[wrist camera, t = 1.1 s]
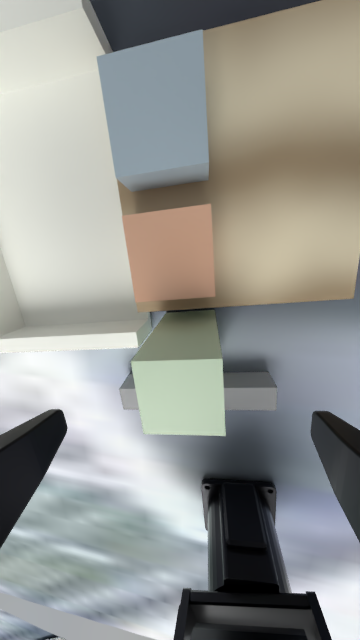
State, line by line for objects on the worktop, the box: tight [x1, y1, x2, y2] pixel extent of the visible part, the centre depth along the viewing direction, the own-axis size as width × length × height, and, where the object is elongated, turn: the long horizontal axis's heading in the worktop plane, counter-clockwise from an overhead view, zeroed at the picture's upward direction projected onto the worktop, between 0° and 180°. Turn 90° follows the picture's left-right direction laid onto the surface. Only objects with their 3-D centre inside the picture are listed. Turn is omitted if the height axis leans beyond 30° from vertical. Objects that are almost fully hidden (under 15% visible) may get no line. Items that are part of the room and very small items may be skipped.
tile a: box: [122, 204, 215, 302], centre depth 11 cm, size 4×4×2 cm
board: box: [117, 0, 360, 312], centre depth 11 cm, size 12×12×2 cm
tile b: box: [97, 29, 209, 192], centre depth 9 cm, size 4×4×2 cm
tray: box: [0, 0, 152, 353], centre depth 13 cm, size 16×11×3 cm
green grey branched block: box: [119, 310, 277, 436], centre depth 12 cm, size 11×7×8 cm, turn 96°
